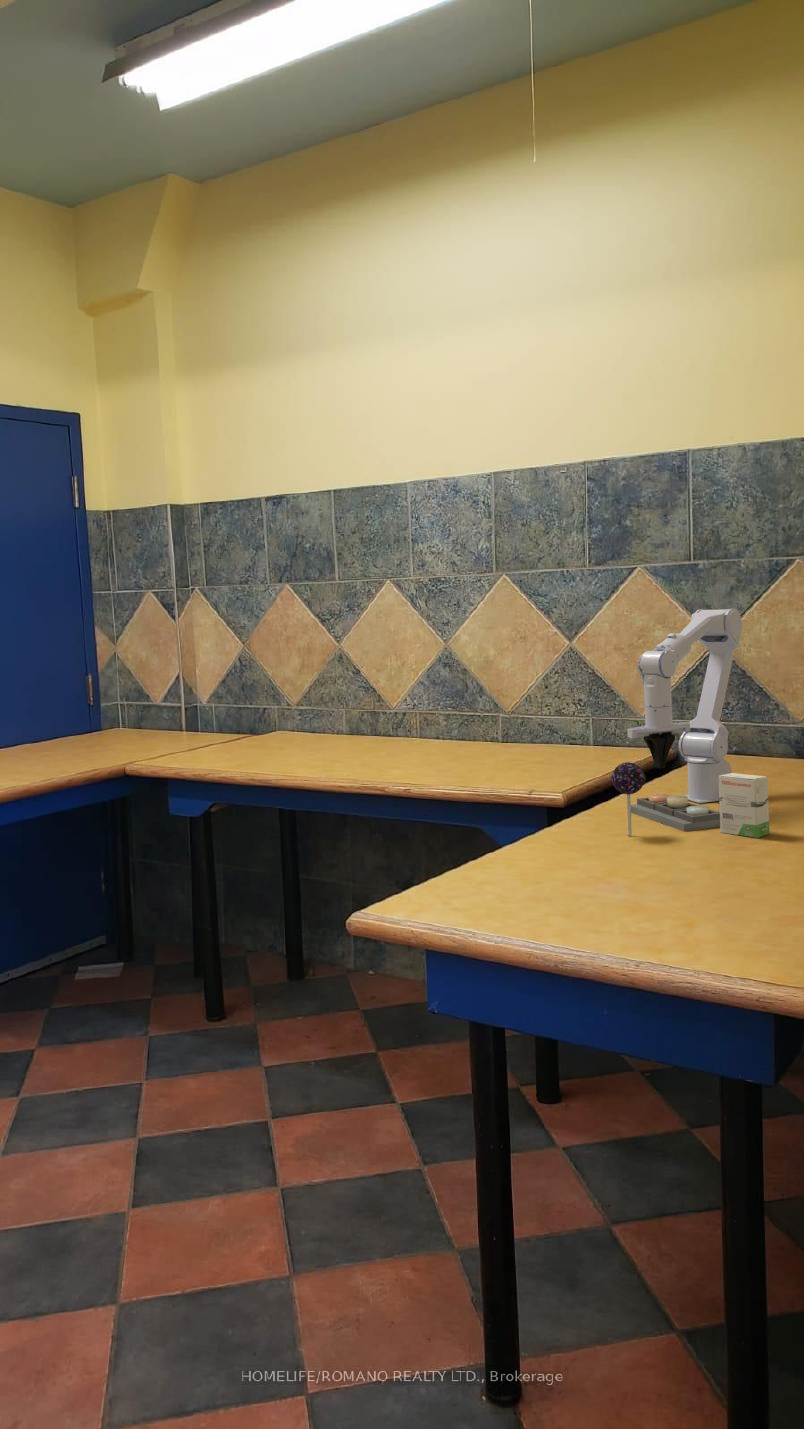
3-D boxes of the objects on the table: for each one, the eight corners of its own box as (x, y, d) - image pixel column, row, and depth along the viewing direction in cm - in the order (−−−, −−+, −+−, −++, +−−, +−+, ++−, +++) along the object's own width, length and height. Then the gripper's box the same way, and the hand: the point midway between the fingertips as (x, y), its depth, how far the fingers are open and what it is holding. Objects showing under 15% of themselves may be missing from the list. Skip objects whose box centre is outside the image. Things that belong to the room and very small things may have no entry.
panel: (672, 806, 244) (672, 794, 243) (730, 824, 223) (730, 812, 223) (629, 811, 240) (628, 799, 240) (684, 831, 220) (683, 818, 219)
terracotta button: (662, 801, 241) (662, 793, 241) (673, 804, 237) (673, 796, 237) (645, 803, 240) (644, 795, 240) (655, 806, 236) (655, 798, 236)
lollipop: (650, 838, 215) (648, 764, 213) (615, 840, 215) (613, 766, 214) (643, 830, 222) (641, 758, 220) (610, 832, 222) (607, 760, 220)
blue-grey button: (700, 813, 227) (700, 804, 227) (712, 817, 223) (712, 808, 223) (682, 815, 226) (682, 807, 226) (694, 819, 222) (694, 811, 221)
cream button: (681, 802, 234) (680, 794, 234) (692, 806, 230) (692, 798, 230) (663, 805, 233) (662, 796, 233) (674, 808, 229) (674, 800, 228)
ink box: (770, 834, 214) (770, 775, 212) (756, 839, 210) (755, 779, 209) (732, 828, 220) (731, 771, 219) (718, 832, 217) (717, 774, 216)
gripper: (676, 701, 241) (678, 761, 243) (619, 707, 236) (621, 768, 238) (695, 703, 234) (696, 765, 236) (636, 710, 230) (638, 773, 231)
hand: (660, 767), depth 236 cm, fingers closed
